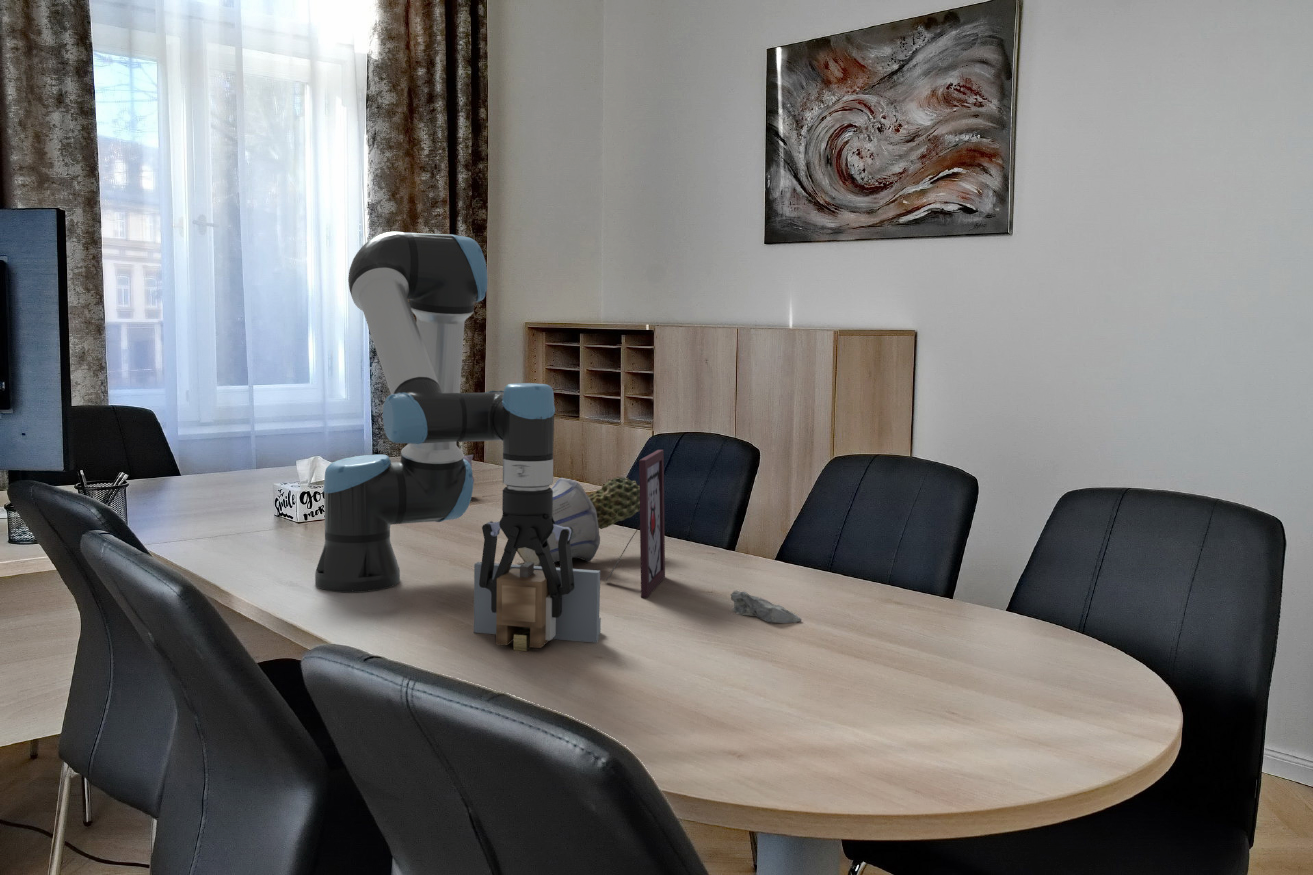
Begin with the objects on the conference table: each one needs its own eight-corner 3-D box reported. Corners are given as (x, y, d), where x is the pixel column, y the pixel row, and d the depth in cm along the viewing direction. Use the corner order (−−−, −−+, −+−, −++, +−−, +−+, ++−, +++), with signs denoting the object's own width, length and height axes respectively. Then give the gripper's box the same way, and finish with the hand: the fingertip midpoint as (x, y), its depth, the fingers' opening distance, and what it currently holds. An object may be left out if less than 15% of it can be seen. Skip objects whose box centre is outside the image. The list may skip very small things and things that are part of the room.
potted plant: (538, 503, 204) (657, 456, 222) (491, 494, 218) (606, 450, 236) (558, 588, 208) (673, 535, 226) (510, 574, 222) (622, 525, 240)
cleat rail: (513, 650, 160) (513, 634, 160) (528, 636, 167) (528, 622, 167) (526, 651, 160) (526, 635, 160) (540, 638, 167) (540, 623, 167)
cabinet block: (495, 644, 160) (496, 568, 159) (511, 631, 167) (512, 558, 166) (540, 648, 159) (541, 571, 157) (554, 634, 166) (555, 561, 164)
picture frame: (647, 598, 192) (650, 460, 190) (594, 594, 194) (596, 457, 192) (665, 577, 209) (668, 449, 206) (616, 573, 211) (618, 447, 208)
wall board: (473, 632, 169) (474, 564, 168) (486, 622, 174) (486, 556, 173) (596, 642, 165) (597, 572, 164) (605, 632, 170) (606, 565, 169)
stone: (754, 607, 189) (755, 584, 189) (804, 622, 180) (805, 598, 179) (727, 613, 185) (727, 590, 185) (777, 628, 176) (777, 604, 175)
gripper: (455, 486, 159) (455, 637, 161) (585, 494, 155) (582, 648, 157) (474, 479, 166) (473, 623, 169) (598, 486, 162) (595, 634, 165)
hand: (526, 635), depth 163 cm, fingers closed on cabinet block, 7 cm apart
